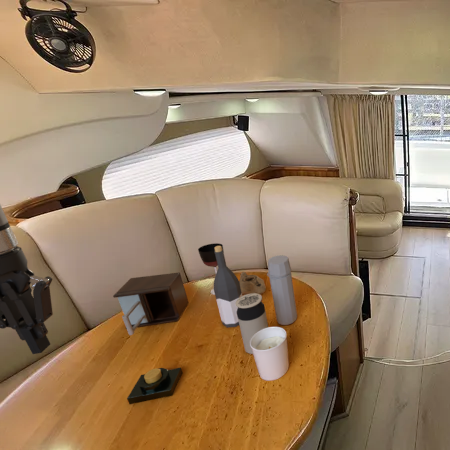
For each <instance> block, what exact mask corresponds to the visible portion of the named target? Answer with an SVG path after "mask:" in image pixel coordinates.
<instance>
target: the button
mask: <svg viewBox="0 0 450 450" xmlns="http://www.w3.org/2000/svg"><path fill="white" fill-rule="evenodd" d="M158 368H159V367H158ZM158 368H157V367H156V368H152V369H149V370H148V371H147V372H146V373H144V374H145V375H144V379H145V381H146V383H148V384H149V383H153V382H156V381H158V380H159V379H160V378H161V377H162V374H161V371H160V369H158Z"/></svg>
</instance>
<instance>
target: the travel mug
mask: <svg viewBox="0 0 450 450" xmlns="http://www.w3.org/2000/svg"><path fill="white" fill-rule="evenodd" d="M262 301H263V296H262V294H257V293H251V294H246V295H245V294H243V295H242V297H240V298H239V299H238V300H237V301H236V306H237V307H238V309H237V317H238V321H239V325H238V326H239V330H240V334H241V338H242V343H243V347H244V351H245V353H247V354H250V355H253V352H252V349H251V346H250V340H251V338H252V337H253V335H254V334H256V333H257V332H258V331H260V330H262V329H265V328H268V327H269V322H268V318H267V312H266V307H265V304H264V302H262Z"/></svg>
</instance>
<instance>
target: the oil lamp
mask: <svg viewBox="0 0 450 450" xmlns="http://www.w3.org/2000/svg"><path fill="white" fill-rule="evenodd" d="M239 276H240V277H239V282H240V287H241V292H242V295H246V294H251V293H257V294H260V295H262V294H264V293H265V291H266V289H267V288H266V284H265V280H264V279H263V278H261V277H260V276H258V275H257V274H247V272H246V271H242V272H241V273H240V275H239Z"/></svg>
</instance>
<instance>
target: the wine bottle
mask: <svg viewBox="0 0 450 450" xmlns="http://www.w3.org/2000/svg"><path fill="white" fill-rule="evenodd" d="M214 249H215V252H214V253H215V256H216V260H217V264H218V266H217V273H215V276H214V279H213V288H214V292H215V295H214V297H215V300H216V303H217V308H218V312H219V316H220V320H221V323H222V325H223V326H224V327H226V328H236V327H238V326H240V325H239V321H238V317H237V309H238V307H237V306H236V301H237V300H238V299H239V298H240V297H242V296H243V294H242V292H241V287H240V282H239V281H240V279H239V278H238V276H237V275H236V274H235V272H233V271H232V270H231V269H230V268H229V267H228V266H227V263H226V257H225V252H224V249H223V250H222V247H221V246H216V247H215V248H214ZM223 252H224V253H223Z"/></svg>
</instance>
